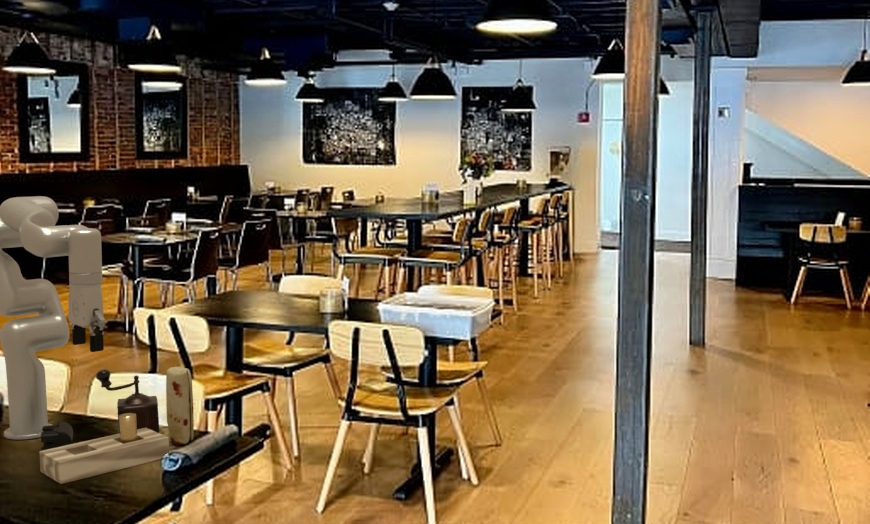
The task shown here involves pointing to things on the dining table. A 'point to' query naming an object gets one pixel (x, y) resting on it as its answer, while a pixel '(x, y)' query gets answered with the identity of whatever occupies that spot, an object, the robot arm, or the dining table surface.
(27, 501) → the dining table surface
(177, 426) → the food model
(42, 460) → the board
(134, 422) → the pin
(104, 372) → the manual coffee grinder
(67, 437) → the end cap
